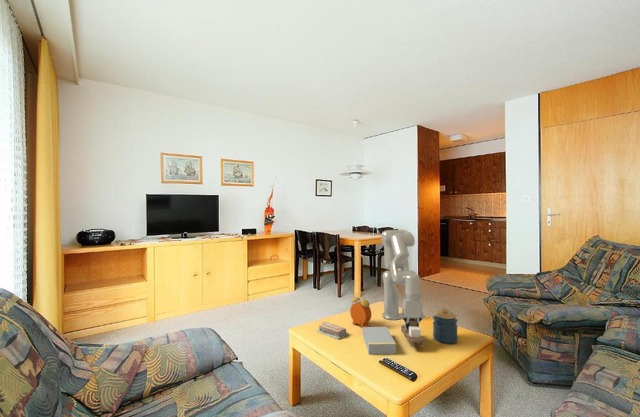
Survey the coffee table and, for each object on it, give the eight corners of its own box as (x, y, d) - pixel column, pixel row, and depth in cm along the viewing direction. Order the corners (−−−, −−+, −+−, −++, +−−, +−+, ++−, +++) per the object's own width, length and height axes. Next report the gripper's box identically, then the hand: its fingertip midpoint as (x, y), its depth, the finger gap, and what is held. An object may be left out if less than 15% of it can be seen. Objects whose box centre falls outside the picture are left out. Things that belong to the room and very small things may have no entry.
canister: (434, 332, 175) (434, 303, 175) (458, 337, 169) (458, 306, 169) (431, 341, 164) (430, 310, 164) (456, 346, 158) (456, 314, 158)
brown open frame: (401, 330, 172) (401, 313, 171) (413, 330, 172) (413, 312, 171) (411, 346, 153) (411, 327, 152) (424, 346, 153) (424, 326, 152)
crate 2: (408, 333, 160) (408, 326, 160) (418, 333, 160) (418, 326, 160) (411, 337, 156) (411, 329, 156) (420, 337, 156) (420, 329, 156)
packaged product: (348, 326, 175) (338, 332, 167) (348, 334, 175) (338, 340, 167) (325, 319, 186) (315, 324, 179) (325, 327, 186) (315, 332, 179)
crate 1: (404, 327, 168) (404, 320, 168) (413, 327, 168) (413, 320, 168) (406, 330, 164) (406, 323, 164) (415, 330, 164) (415, 323, 164)
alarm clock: (372, 327, 184) (371, 295, 184) (365, 329, 181) (365, 297, 180) (356, 320, 195) (356, 290, 195) (350, 323, 191) (349, 292, 191)
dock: (362, 335, 173) (362, 326, 173) (386, 335, 173) (386, 326, 173) (368, 354, 151) (368, 344, 151) (396, 354, 151) (396, 343, 151)
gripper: (425, 294, 165) (425, 326, 166) (395, 294, 165) (395, 326, 166) (430, 298, 158) (430, 332, 158) (398, 299, 158) (399, 332, 158)
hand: (412, 329), depth 162 cm, fingers closed on brown open frame, 4 cm apart
